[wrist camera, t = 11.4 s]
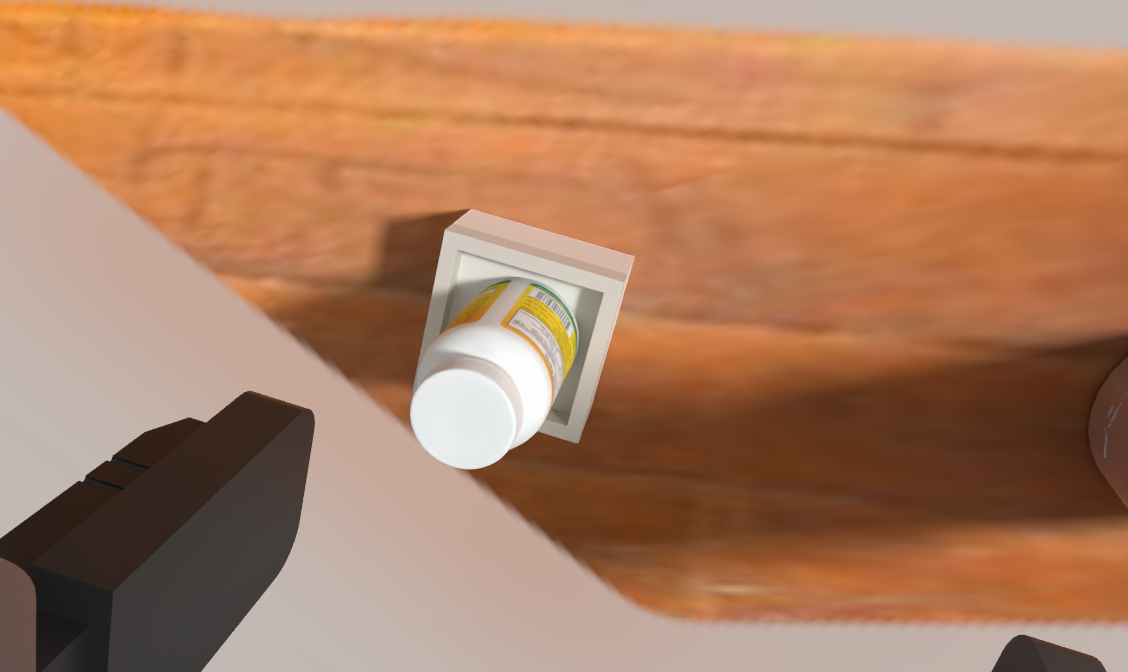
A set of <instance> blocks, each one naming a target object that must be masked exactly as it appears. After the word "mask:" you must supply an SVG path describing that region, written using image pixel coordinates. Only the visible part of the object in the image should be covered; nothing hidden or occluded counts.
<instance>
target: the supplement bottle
mask: <svg viewBox="0 0 1128 672" xmlns="http://www.w3.org/2000/svg"><path fill="white" fill-rule="evenodd" d="M578 344H579V331H578V325H577V322H576V319H575V316H574V314H573V312H572V310H571V308H570V306H569V305H568V303H567V302H566V301H565V300H564V299H563V297H562V296H561V295H560V294H559V293H557V292H556V291H555V290H554V289H552V288H551V287H549V286H548V285H545V284H543V283H541V282H538V281H535V280H532V279H527V278H508V279H503V280H500V281H497V282H495V283H493V284H491V285H489V286H488V287H486V288H485V289H483V290H482V291H481V292H480V293H478V294H477V295H476V296H475V298H474V299H473V300H472V301H471V302H470V303H469V304H468V305H467V306H466V307H465V308H464V309H463V310H462V311H461V312H460V314H459V315H458V316H457V317H456V318H455V319H454V320H453V321H452V322H451V323H450V324H449V326H448V327H447V328H446V329H445V330H444V331H443V332H442V333H441V334H440V335H439V336H438V337H437V338H436V339H435V341H434V342H433V343H432V344H431V345H430V346H429V348H428V349H427V351H426V353H425V354H424V356H423V358H422V360H421V363H420V366H419V370H418V375H417V389H416V391H415V393H414V395H413V398H412V401H411V406H410V420H411V426H412V429H413V431H414V434H415V436H416V438H417V440H418V442H419V443H420V444H421V446H422V447H423V448H424V449H425V450H426V451H427V452H428V453H429V454H430V455H431V456H433V457H434V458H435V459H436V460H438V461H440V462H442V463H444V464H446V465H448V466H451V467H455V468H460V469H478V468H483V467H486V466H488V465H491V464H493V463H494V462H496V461H498V460H499V459H500V458H502V457H503V456H504V455H505V454H506V453H507V451H508V450H510V449H512V448H515V447H517V446H519V445H521V444H523V443H524V442H526V441H527V440H528V439H530V438H531V437H532V436H533V435H534V434H535V433H536V432H537V431H538V429H539V428H540V427H541V425H542V424H543V422H544V421H545V419H546V417H547V415H548V413H549V411H550V409H551V407H552V405H553V403H554V401H555V399H556V396H557V394H558V392H559V390H560V388H561V386H562V384H563V382H564V380H565V378H566V376H567V374H568V372H569V370H570V368H571V366H572V364H573V362H574V359H575V357H576V354H577V350H578Z"/></svg>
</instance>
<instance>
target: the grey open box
mask: <svg viewBox="0 0 1128 672" xmlns="http://www.w3.org/2000/svg"><path fill="white" fill-rule="evenodd" d="M634 257H635V256H632V255H629V254H625V253H622V252H618V251H615V250H612V249H608V248H605V247H601V246H598V245H594V244H591V243H588V242H584V241H581V240H577V239H574V238H570V237H567V236H563V235H560V234H557V233H553V232H550V231H546V230H543V229H539V228H536V227H532V226H529V225H526V224H522V223H519V222H515V221H512V220H508V219H505V218H502V217H498V216H495V215H491V214H488V213H484V212H481V211H477V210H474V209H470V210H469V211H468V212H467V213H465V214H464V215H463V216H462V217H460V218H459V219H458V220H457V221H455V222H454V223H453V224H452V225H450V226H449V227H448V228H447V229H445V232H444V237H443V242H442V247H441V252H440V257H439V262H438V267H437V272H436V277H435V281H434V286H433V291H432V296H431V301H430V306H429V311H428V316H427V321H426V326H425V331H424V336H423V341H422V346H421V351H420V356H419V361H418V365H417V370H416V375H415V380H414V385H413V390H412V393H415V391H416V389H417V375H418V370H419V366H420V363H421V360H422V358H423V356H424V354H425V353H426V351H427V349H428V348H429V346H430V345H431V344H432V343H433V342H434V341H435V339H436V338H437V337H438V336H439V335H440V334H441V333H442V332H443V331H444V330H445V329H446V328H447V327H448V326H449V324H450V323H451V322H452V321H453V320H454V319H455V318H456V317H457V316H458V315H459V314H460V312H461V311H462V310H463V309H464V308H465V307H466V306H467V305H468V304H469V303H470V302H471V301H472V300H473V299H474V298H475V296H476V295H477V294H478V293H480V292H481V291H482V290H483V289H485V288H486V287H488V286H489V285H491V284H493V283H495V282H497V281H500V280H503V279H508V278H527V279H532V280H535V281H538V282H541V283H543V284H545V285H548V286H549V287H551V288H552V289H554V290H555V291H556V292H557V293H559V294H560V295H561V296H562V297H563V299H564V300H565V301H566V302H567V303H568V305H569V306H570V308H571V310H572V312H573V314H574V316H575V319H576V322H577V325H578V331H579V344H578V350H577V354H576V357H575V359H574V362H573V364H572V366H571V368H570V370H569V372H568V374H567V376H566V378H565V380H564V382H563V384H562V386H561V388H560V390H559V392H558V394H557V396H556V399H555V401H554V403H553V405H552V407H551V409H550V411H549V413H548V415H547V417H546V419H545V421H544V422H543V424H542V425H541V427H540V428H539V429H538V432H541V433H544V434H547V435H551V436H554V437H557V438H560V439H564V440H567V441H570V442H573V443H577V444H578V443H579V440H580V437H581V435H582V432H583V429H584V426H585V424H586V421H587V418H588V415H589V413H590V410H591V407H592V404H593V401H594V397H595V394H596V390H597V387H598V383H599V380H600V376H601V373H602V369H603V366H604V362H605V359H606V355H607V352H608V348H609V345H610V341H611V338H612V334H613V331H614V327H615V324H616V320H617V317H618V313H619V310H620V306H621V303H622V299H623V296H624V292H625V289H626V285H627V282H628V278H629V275H630V271H631V268H632V264H633V261H634Z"/></svg>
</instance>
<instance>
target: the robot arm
mask: <svg viewBox="0 0 1128 672" xmlns="http://www.w3.org/2000/svg"><path fill="white" fill-rule="evenodd" d="M314 425H315V420H314V414H313V412H312V410H310V409H307V408H304V407H301V406H297V405H294V404H291V403H287V402H285V401H281V400H278V399H275V398H272V397H269V396H265V395H262V394H259V393H256V392H253V391H247V392H244V393H243V394H241V395H240V396H239V397H238V398H236V399H235V400H234V401H233V402H231V403H230V404H229V405H228V406H226V407H225V408H224V409H223V410H221V411H220V412H219V413H218V414H216V415H215V416H214V417H213V418H211V419H210V420H209V421H208V422H206V423H205V422H202V421H199V420H196V419H192V418H186V419H183V420H180V421H177V422H174V423H171V424H168V425H165V426H162V427H159V428H156V429H153V430H150V431H147V432H144V433H143V434H142V435H140V436H139V437H138V438H136V439H135V440H133V441H132V442H131V443H129V444H128V445H127V446H125V447H124V448H123V449H121V450H120V451H119V452H117V453H116V454H115V455H113V457H112V460H111V461H110V462H109V461H105V462H104V463H102V464H101V465H100V466H98V467H97V468H96V469H94V470H93V471H91V472H90V473H89V474H87V475H86V478H85V480H84V481H83V482H81V481H78V482H76V483H75V484H74V485H73V486H71V487H70V488H68V489H67V490H66V491H64V492H63V493H62V494H60V495H59V496H58V497H56V498H55V499H53V500H52V501H51V502H49V503H48V504H47V505H45V506H44V507H43V508H41V509H40V510H39V511H37V512H36V513H35V514H33V515H32V516H30V517H29V518H28V519H26V520H25V521H24V522H22V523H21V524H19V525H18V526H17V527H15V528H14V529H13V530H11V531H10V532H9V533H7V534H6V535H5V536H3V537H2V538H0V672H201V671H202V670H203V668H204V667H205V666H206V665H207V663H208V662H209V661H210V660H211V658H212V657H213V656H214V655H215V653H216V652H217V651H218V650H219V648H220V647H221V646H222V645H223V643H224V642H225V641H226V639H227V638H228V637H229V636H230V635H231V633H232V632H233V631H234V630H235V628H236V627H237V626H238V625H239V623H240V622H241V621H242V620H243V618H244V617H245V616H246V615H247V613H248V612H249V611H250V610H251V608H252V607H253V605H255V603H256V602H257V601H258V599H259V598H260V597H261V596H262V594H263V593H264V592H265V591H266V590H267V588H268V587H269V586H270V584H271V583H272V582H273V581H274V579H275V578H276V577H277V575H278V574H279V572H280V571H281V569H282V568H283V566H284V564H285V562H286V560H287V558H288V556H289V553H290V551H291V549H292V546H293V543H294V541H295V537H296V534H297V531H298V527H299V521H300V515H301V509H302V503H303V497H304V491H305V484H306V478H307V472H308V465H309V459H310V453H311V447H312V441H313V434H314ZM1088 435H1089V442H1090V450H1091V453H1092V455H1093V457H1094V460H1095V462H1096V465H1097V467H1098V469H1099V470H1100V472H1101V473H1102V474H1103V476H1104V477H1105V478H1106V480H1107V481H1108V483H1109V484H1110V485H1111V487H1112V488H1113V489H1114V491H1115V492H1116V494H1117V495H1118V496H1119V498H1120V499H1121V500H1122V502H1123V503H1124V505H1125V506H1126V507H1127V509H1128V357H1126V358H1125V359H1124V360H1123V361H1122V362H1121V363H1120V364H1119V365H1118V366H1117V367H1116V368H1115V369H1114V370H1113V371H1112V372H1111V373H1110V375H1109V376H1108V378H1107V379H1106V381H1105V382H1104V384H1103V385H1102V387H1101V388H1100V390H1099V391H1098V393H1097V396H1096V399H1095V401H1094V404H1093V407H1092V409H1091V412H1090V420H1089V428H1088ZM992 672H1106V670H1105V668H1104V667H1103V665H1102V663H1101V662H1100V661H1099V660H1098V659H1097V658H1095V657H1093V656H1090V655H1087V654H1084V653H1081V652H1078V651H1074V650H1071V649H1068V648H1065V647H1062V646H1059V645H1055V644H1052V643H1049V642H1046V641H1043V640H1039V639H1036V638H1033V637H1030V636H1026V635H1018V636H1016V637H1014V638H1013V639H1012V640H1011V641H1010V642H1009V643H1008V644H1007V645H1006V647H1005V648H1004V650H1003V651H1002V653H1001V655H1000V657H999V659H998V661H997V663H996V665H995V666H994V668H993V670H992Z"/></svg>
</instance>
